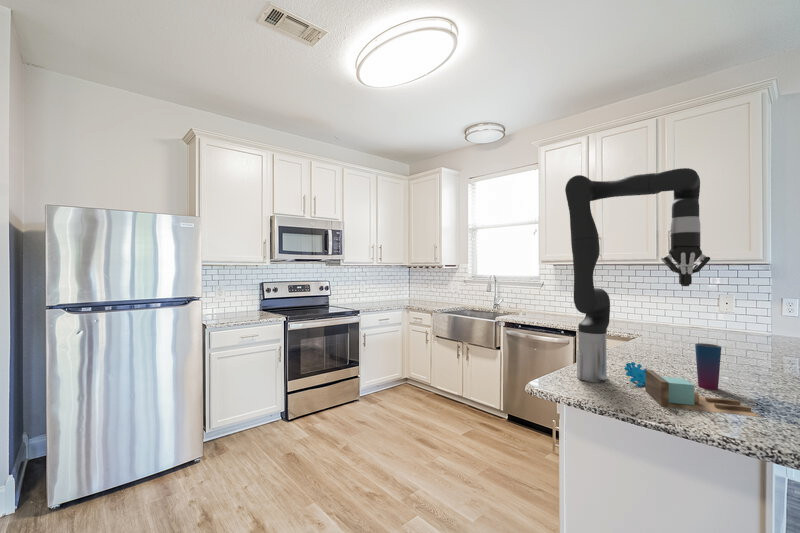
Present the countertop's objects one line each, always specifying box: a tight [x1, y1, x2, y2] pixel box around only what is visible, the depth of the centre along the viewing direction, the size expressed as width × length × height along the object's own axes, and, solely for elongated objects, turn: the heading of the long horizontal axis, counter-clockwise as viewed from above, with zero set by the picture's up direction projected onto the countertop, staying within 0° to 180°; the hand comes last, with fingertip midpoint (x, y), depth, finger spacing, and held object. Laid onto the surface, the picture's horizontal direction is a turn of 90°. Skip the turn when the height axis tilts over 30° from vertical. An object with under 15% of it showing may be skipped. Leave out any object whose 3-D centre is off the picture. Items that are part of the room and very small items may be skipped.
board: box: [644, 369, 762, 418], centre depth 108 cm, size 23×14×8 cm, turn 72°
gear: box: [623, 361, 648, 388], centre depth 128 cm, size 11×6×10 cm
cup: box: [694, 342, 722, 391], centre depth 123 cm, size 7×7×15 cm
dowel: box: [694, 391, 700, 403], centre depth 110 cm, size 8×3×3 cm, turn 71°
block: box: [661, 376, 695, 405], centre depth 110 cm, size 7×7×6 cm
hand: (685, 286), depth 117 cm, fingers closed
